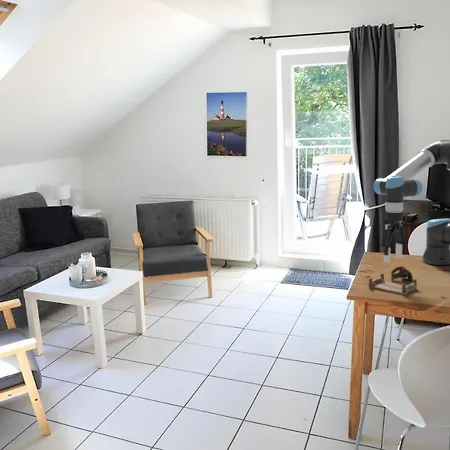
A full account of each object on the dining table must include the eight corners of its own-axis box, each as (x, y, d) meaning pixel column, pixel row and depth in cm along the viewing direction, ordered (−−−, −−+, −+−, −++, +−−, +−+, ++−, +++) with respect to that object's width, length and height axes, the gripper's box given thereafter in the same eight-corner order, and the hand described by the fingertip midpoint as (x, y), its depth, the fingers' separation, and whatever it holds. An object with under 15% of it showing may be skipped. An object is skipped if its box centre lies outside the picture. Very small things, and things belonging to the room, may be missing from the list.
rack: (381, 282, 233) (381, 273, 232) (416, 288, 221) (416, 279, 220) (368, 288, 225) (369, 278, 224) (404, 295, 213) (404, 285, 212)
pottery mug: (415, 285, 227) (406, 270, 225) (395, 292, 231) (387, 277, 230) (415, 273, 237) (407, 259, 236) (397, 280, 242) (389, 266, 240)
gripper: (398, 208, 228) (397, 254, 231) (373, 213, 212) (372, 263, 215) (413, 209, 222) (412, 256, 226) (389, 215, 207) (388, 265, 210)
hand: (392, 259), depth 220 cm, fingers open, 10 cm apart
